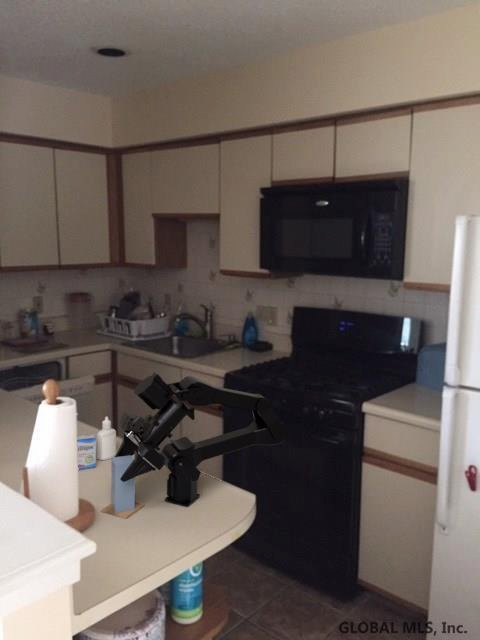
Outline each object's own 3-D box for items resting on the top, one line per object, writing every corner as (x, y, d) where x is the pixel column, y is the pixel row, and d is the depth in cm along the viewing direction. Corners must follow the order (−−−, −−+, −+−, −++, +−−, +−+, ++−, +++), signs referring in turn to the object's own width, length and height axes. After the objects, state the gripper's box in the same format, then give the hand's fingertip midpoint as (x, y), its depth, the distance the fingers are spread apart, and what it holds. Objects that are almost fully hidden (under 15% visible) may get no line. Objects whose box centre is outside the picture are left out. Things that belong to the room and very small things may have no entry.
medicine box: (66, 472, 151) (66, 441, 150) (63, 466, 155) (63, 435, 154) (96, 468, 155) (96, 437, 153) (92, 462, 158) (92, 432, 157)
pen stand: (144, 506, 134) (144, 486, 133) (126, 519, 127) (126, 498, 127) (119, 499, 137) (119, 479, 136) (101, 511, 130) (101, 491, 130)
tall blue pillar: (130, 501, 135) (130, 455, 133) (134, 509, 131) (134, 462, 129) (111, 504, 133) (111, 457, 131) (115, 513, 129) (115, 464, 127)
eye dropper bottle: (118, 458, 161) (118, 418, 159) (97, 461, 159) (97, 420, 157) (114, 453, 165) (115, 413, 163) (95, 455, 163) (95, 415, 161)
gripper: (131, 389, 138) (84, 438, 135) (152, 411, 121) (99, 467, 119) (161, 417, 143) (117, 465, 140) (186, 442, 126) (136, 497, 123)
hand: (117, 472), depth 130 cm, fingers open, 9 cm apart
